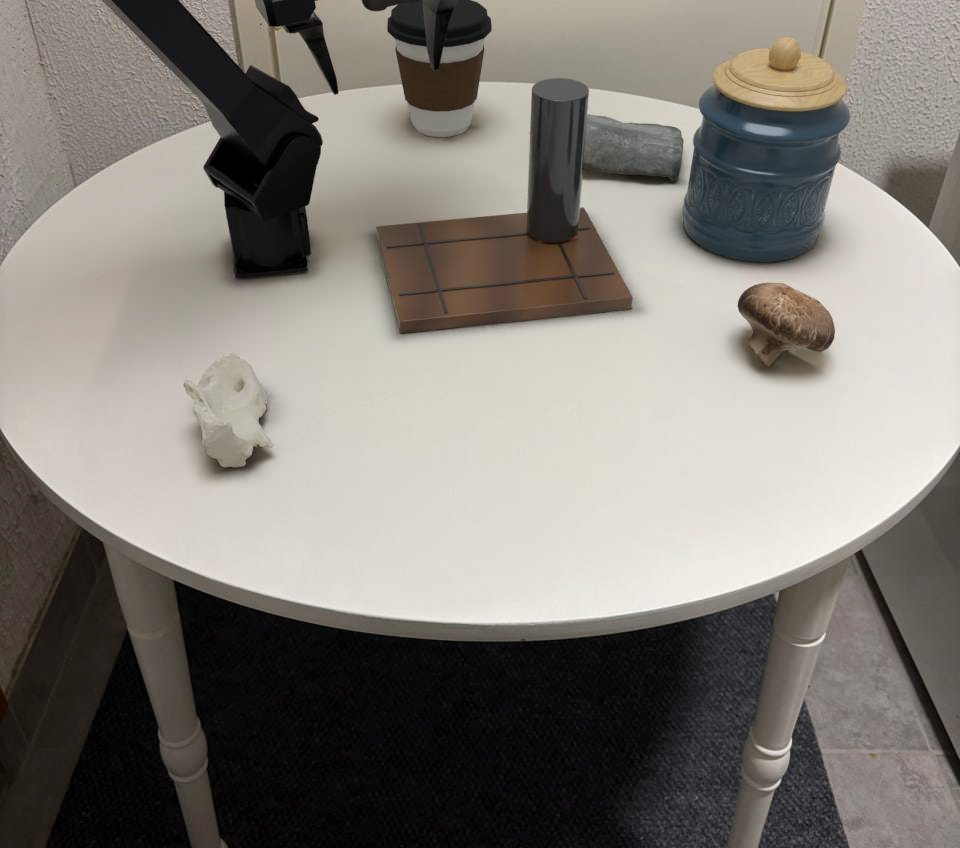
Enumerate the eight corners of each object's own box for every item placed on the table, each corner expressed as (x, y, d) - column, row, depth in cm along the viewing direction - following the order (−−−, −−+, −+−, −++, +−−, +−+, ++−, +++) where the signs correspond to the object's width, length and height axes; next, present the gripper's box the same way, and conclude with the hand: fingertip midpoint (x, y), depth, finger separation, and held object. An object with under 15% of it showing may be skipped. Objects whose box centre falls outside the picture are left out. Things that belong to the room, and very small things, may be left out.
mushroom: (747, 355, 79) (786, 278, 78) (700, 334, 86) (736, 264, 85) (826, 393, 82) (866, 319, 81) (775, 370, 89) (811, 302, 88)
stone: (529, 171, 107) (673, 201, 107) (536, 136, 104) (684, 167, 104) (541, 116, 114) (675, 144, 114) (548, 81, 111) (686, 110, 111)
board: (400, 333, 87) (399, 319, 86) (376, 237, 98) (375, 224, 97) (631, 309, 90) (633, 295, 89) (583, 218, 101) (584, 205, 100)
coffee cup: (403, 101, 120) (398, -10, 112) (497, 108, 119) (499, -3, 111) (382, 143, 112) (374, 27, 104) (482, 151, 111) (483, 34, 103)
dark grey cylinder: (572, 246, 94) (582, 104, 85) (520, 238, 95) (525, 97, 86) (583, 220, 98) (594, 81, 89) (533, 213, 99) (539, 75, 90)
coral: (260, 379, 82) (252, 331, 79) (283, 463, 75) (275, 414, 72) (188, 392, 81) (176, 344, 78) (203, 479, 74) (192, 430, 71)
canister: (694, 266, 95) (727, 69, 82) (669, 197, 104) (696, 11, 92) (835, 264, 95) (889, 68, 83) (798, 195, 104) (842, 10, 92)
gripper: (259, -71, 74) (304, 141, 84) (504, -122, 77) (518, 88, 88) (229, -106, 81) (274, 93, 92) (454, -150, 85) (472, 46, 96)
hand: (385, 81), depth 92 cm, fingers open, 9 cm apart
